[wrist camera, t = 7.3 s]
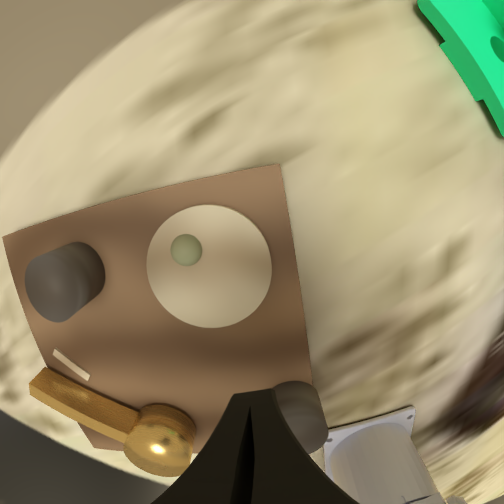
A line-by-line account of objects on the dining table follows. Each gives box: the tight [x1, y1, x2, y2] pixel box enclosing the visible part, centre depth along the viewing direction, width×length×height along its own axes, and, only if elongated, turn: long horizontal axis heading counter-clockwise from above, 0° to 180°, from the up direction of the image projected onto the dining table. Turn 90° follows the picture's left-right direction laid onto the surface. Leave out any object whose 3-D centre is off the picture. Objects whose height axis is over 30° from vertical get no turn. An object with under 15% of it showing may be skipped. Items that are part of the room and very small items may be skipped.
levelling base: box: [2, 164, 329, 454], centre depth 17 cm, size 19×19×5 cm
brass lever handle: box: [29, 367, 196, 477], centre depth 17 cm, size 12×4×3 cm, turn 70°
